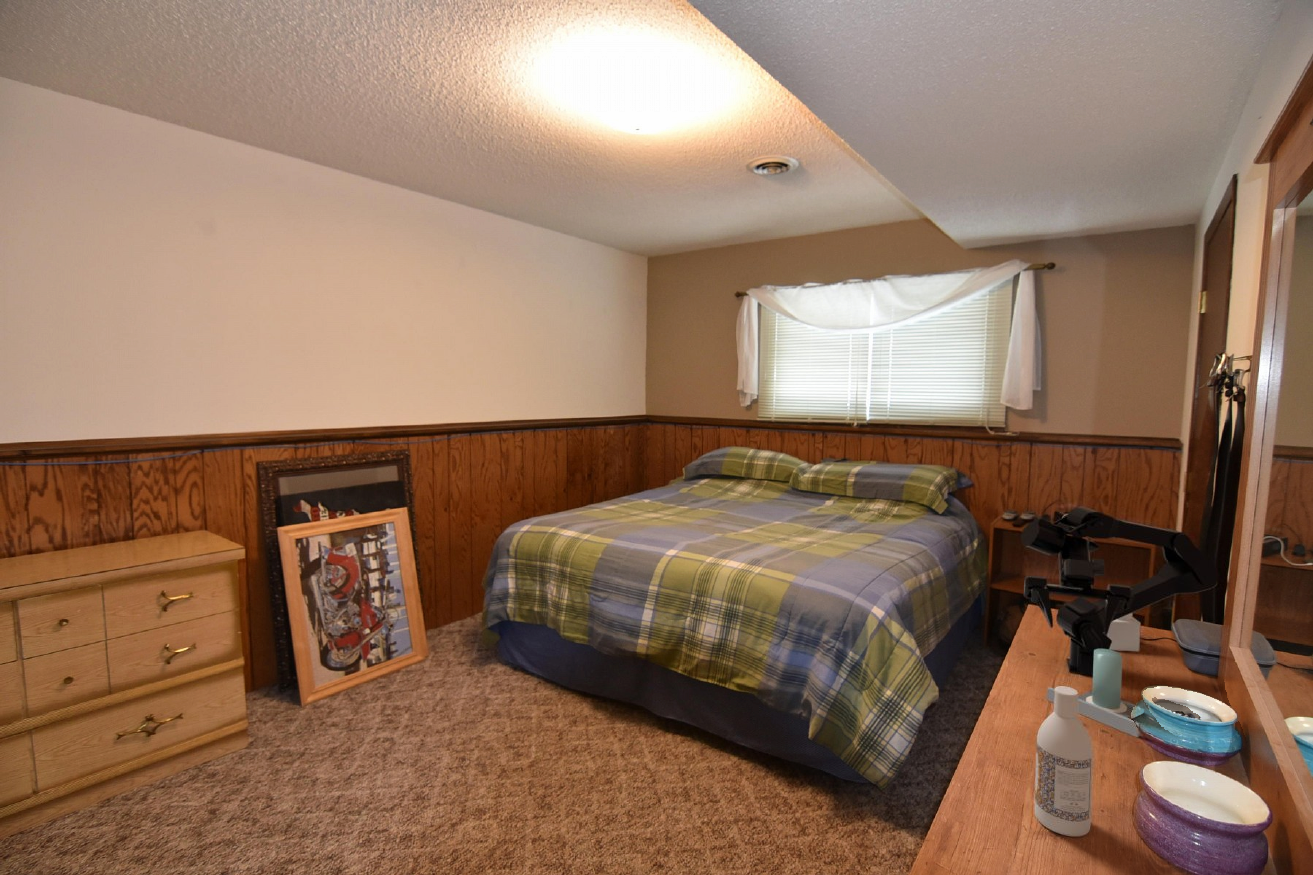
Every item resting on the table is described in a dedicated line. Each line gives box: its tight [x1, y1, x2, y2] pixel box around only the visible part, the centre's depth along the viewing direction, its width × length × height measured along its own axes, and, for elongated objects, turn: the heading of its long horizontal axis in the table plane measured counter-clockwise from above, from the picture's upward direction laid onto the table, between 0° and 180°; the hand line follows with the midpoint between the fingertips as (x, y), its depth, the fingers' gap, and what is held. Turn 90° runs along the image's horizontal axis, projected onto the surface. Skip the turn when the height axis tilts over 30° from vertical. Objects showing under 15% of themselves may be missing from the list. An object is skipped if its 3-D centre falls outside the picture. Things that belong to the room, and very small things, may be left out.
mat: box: [1079, 690, 1136, 719], centre depth 126 cm, size 9×9×1 cm
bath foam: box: [1034, 685, 1094, 837], centre depth 94 cm, size 7×7×20 cm
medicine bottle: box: [1107, 612, 1142, 653], centre depth 155 cm, size 7×7×12 cm
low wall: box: [1046, 686, 1141, 738], centre depth 123 cm, size 16×1×2 cm, turn 29°
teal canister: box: [1091, 649, 1123, 709], centre depth 126 cm, size 4×4×10 cm
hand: (1078, 630), depth 130 cm, fingers open, 9 cm apart
